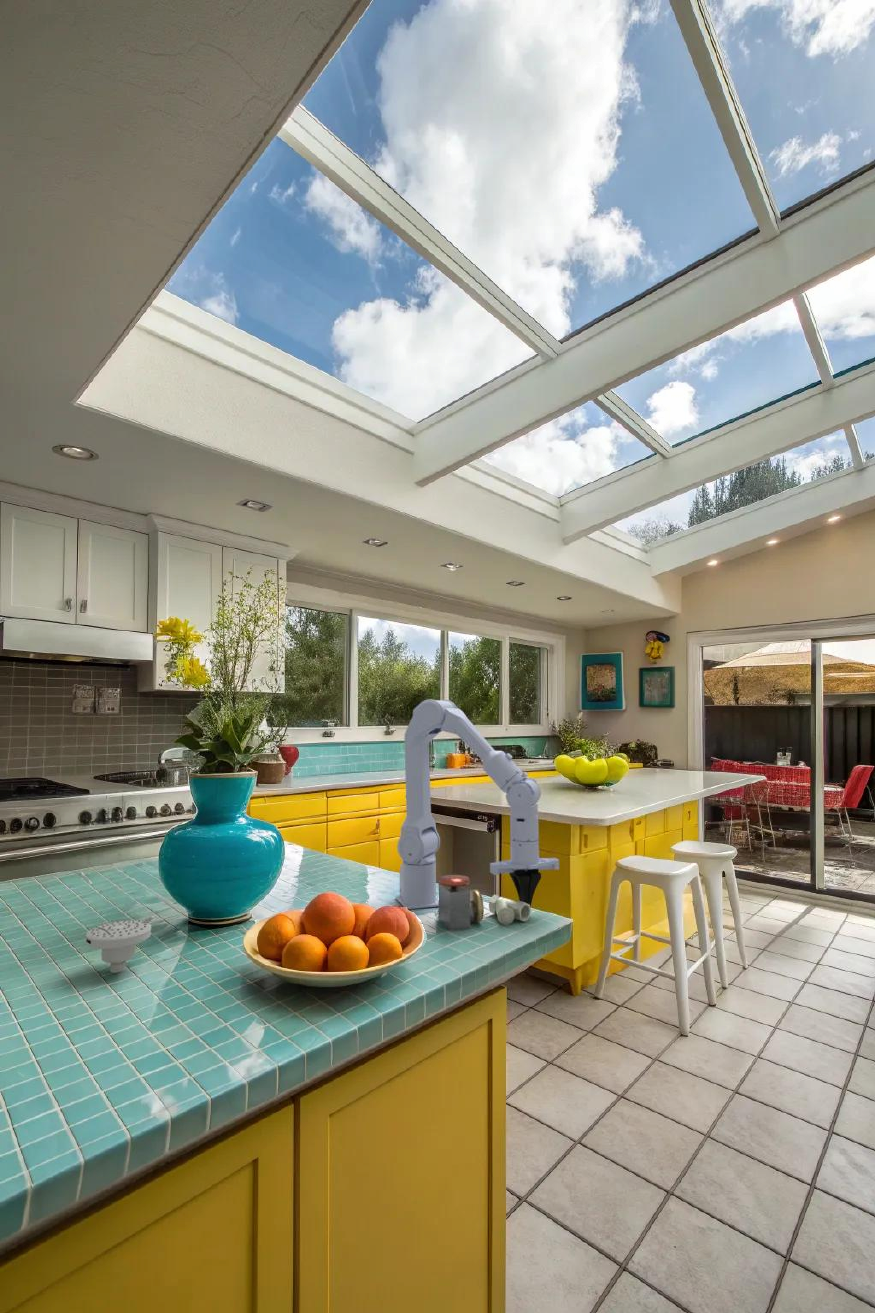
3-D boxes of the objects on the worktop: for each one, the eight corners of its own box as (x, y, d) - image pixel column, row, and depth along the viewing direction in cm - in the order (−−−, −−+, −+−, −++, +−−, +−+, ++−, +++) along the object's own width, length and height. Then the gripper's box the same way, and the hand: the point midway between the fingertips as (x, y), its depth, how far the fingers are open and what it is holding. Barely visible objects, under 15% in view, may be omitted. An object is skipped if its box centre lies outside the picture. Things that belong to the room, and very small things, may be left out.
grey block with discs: (433, 920, 130) (433, 875, 131) (471, 916, 133) (471, 872, 134) (445, 931, 124) (445, 884, 125) (484, 926, 126) (484, 880, 127)
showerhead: (165, 922, 107) (100, 937, 100) (163, 968, 106) (98, 987, 99) (140, 910, 113) (77, 924, 106) (138, 954, 113) (75, 971, 105)
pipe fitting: (509, 930, 126) (531, 919, 130) (508, 909, 126) (530, 900, 131) (478, 921, 131) (500, 911, 136) (477, 901, 132) (499, 892, 136)
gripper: (499, 845, 128) (500, 917, 127) (565, 840, 133) (567, 910, 131) (485, 838, 135) (486, 907, 134) (549, 834, 139) (550, 900, 138)
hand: (525, 908), depth 133 cm, fingers closed
